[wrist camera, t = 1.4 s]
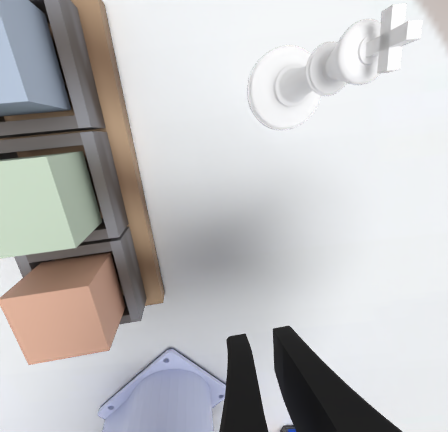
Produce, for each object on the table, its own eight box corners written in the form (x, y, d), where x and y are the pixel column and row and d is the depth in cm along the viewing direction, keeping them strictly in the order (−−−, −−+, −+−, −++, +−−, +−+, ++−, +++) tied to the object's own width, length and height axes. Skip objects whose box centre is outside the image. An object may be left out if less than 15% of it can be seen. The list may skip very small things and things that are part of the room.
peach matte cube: (125, 306, 16) (109, 350, 13) (62, 317, 16) (28, 364, 13) (110, 252, 15) (88, 286, 12) (41, 262, 15) (-3, 300, 11)
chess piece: (250, 134, 17) (328, 134, 7) (243, 51, 15) (332, -85, 6) (319, 125, 17) (475, 114, 8) (319, 43, 16) (516, -96, 6)
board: (164, 293, 20) (159, 324, 16) (59, 310, 19) (32, 346, 16) (104, 4, 14) (76, -38, 10) (-55, 12, 13) (-139, -31, 10)
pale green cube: (102, 221, 14) (76, 248, 11) (29, 231, 14) (-21, 261, 11) (82, 151, 13) (46, 156, 10) (1, 159, 13) (-66, 168, 9)
